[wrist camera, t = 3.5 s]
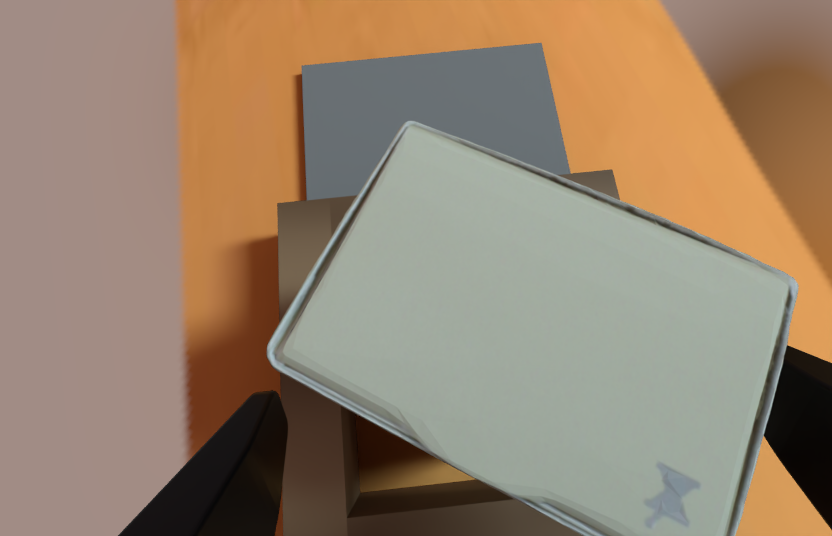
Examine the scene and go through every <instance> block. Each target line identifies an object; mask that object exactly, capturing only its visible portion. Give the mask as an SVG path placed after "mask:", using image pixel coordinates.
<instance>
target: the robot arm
mask: <svg viewBox="0 0 832 536" xmlns="http://www.w3.org/2000/svg"><path fill="white" fill-rule="evenodd" d="M287 437H288V421H287V417H286V414H285V411H284V408H283V406H282V403H281V400H280V397H279V395H278V393H277V392H276V391H273V390H272V391H263V392H256V393H254V394H252V395H251V396H250V397H249V398H248V399H247V400H246V401H245V402H244V403H243V404H242V405H241V407H240V408H239V409H238V410H237V411H236V412H235V413H234V414H233V415H232V416H231V417H230V418H229V419H228V420H227V421H226V422H225V423H224V424H223V426H222V427H221V428H220V429H219V430H218V431H217V432H216V433H215V434H214V435H213V436H212V437H211V438H210V439H209V440H208V441H207V442H206V443H205V445H204V446H203V447H202V448H201V449H200V450H199V451H198V452H197V453H196V454H195V455H194V456H193V457H192V458H191V459H190V460H189V461H188V462H187V464H186V465H185V466H184V467H183V468H182V469H181V470H180V471H179V472H178V473H177V474H176V475H175V476H174V477H173V478H172V479H171V481H169V483H168V484H167V485H166V486H165V487H164V488H163V489H162V490H161V491H160V492H159V493H158V494H157V495H156V496H155V498H153V500H152V501H151V502H150V503H149V504H148V505H147V506H146V507H145V508H144V509H143V510H142V511H141V512H140V513H139V514H138V515H137V516H136V517H135V518H134V519H133V521H132V522H131V523H130V524H129V525H128V526H127V527H126V528H125V529H124V530H123V531H122V532H121V533H120V534H119V535H118V536H274V534H275V530H276V525H277V520H278V514H279V508H280V500H281V491H282V482H283V473H284V464H285V455H286V446H287ZM764 437H765V438H766V440H767V441H768V443H769V445H770V446H771V448H772V449H773V451H774V452H775V454H776V455H777V457H778V458H779V460H780V461H781V463H782V464H783V465H784V467H785V468H786V470H787V471H788V472H789V474H790V475H791V476H792V478H793V479H794V480H795V482H796V483H797V484H798V486H799V487H800V488H801V490H802V491H803V492H804V494H805V495H806V496H807V498H808V499H809V500H810V502H811V503H812V504H813V506H814V507H815V508H816V510H817V511H818V512H819V514H820V515H821V516H822V518H823V519H824V520H825V522H826V523H827V524H828V526H829V527H830V528H831V530H832V363H830V362H828V361H825V360H823V359H820V358H818V357H815V356H813V355H810V354H808V353H805V352H803V351H800V350H798V349H795V348H793V347H790V346H788V345H787V347H786V351H785V354H784V359H783V365H782V368H781V372H780V376H779V380H778V383H777V387H776V391H775V395H774V399H773V403H772V407H771V411H770V415H769V418H768V421H767V424H766V428H765V432H764Z"/></svg>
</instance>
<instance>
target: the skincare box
mask: <svg viewBox="0 0 832 536" xmlns="http://www.w3.org/2000/svg"><path fill="white" fill-rule="evenodd" d="M797 294H798V284H797V282H796V281H795V279H794V278H793V277H791V276H789V275H788V274H786V273H785V272H783V271H780V270H778V269H776V268H773V267H771V266H769V265H766V264H764V263H762V262H760V261H758V260H756V259H755V258H753V257H751V256H749V255H747V254H745V253H742V252H739V251H737V250H735V249H733V248H730V247H728V246H726V245H724V244H722V243H719V242H717V241H715V240H713V239H711V238H709V237H707V236H704V235H701V234H699V233H697V232H695V231H692V230H690V229H688V228H686V227H683V226H681V225H678V224H676V223H673V222H671V221H669V220H668V219H666V218H663V217H660V216H658V215H655V214H652V213H650V212H647V211H645V210H643V209H640V208H638V207H636V206H633V205H631V204H628V203H625V202H623V201H620V200H617V199H615V198H613V197H611V196H608V195H606V194H604V193H601V192H598V191H596V190H593V189H591V188H588V187H586V186H583V185H581V184H578V183H576V182H573V181H571V180H568V179H566V178H563V177H560V176H558V175H555V174H553V173H550V172H548V171H545V170H543V169H540V168H538V167H535V166H533V165H530V164H527V163H524V162H522V161H519V160H517V159H515V158H512V157H510V156H507V155H504V154H502V153H499V152H497V151H494V150H491V149H488V148H485V147H482V146H479V145H477V144H474V143H472V142H470V141H467V140H464V139H461V138H458V137H455V136H453V135H450V134H447V133H444V132H442V131H439V130H436V129H434V128H431V127H429V126H426V125H423V124H421V123H418V122H416V121H407V122H405V123H404V124H403V125H402V126H401V127H400V129H399V130H398V132H397V134H396V135H395V137H394V139H393V141H392V142H391V144H390V146H389V147H388V149H387V151H386V152H385V154H384V155H383V157H382V158H381V160H380V161H379V162H378V164H377V165H376V167H375V168H374V170H373V172H372V173H371V175H370V176H369V178H368V179H367V181H366V183H365V185H364V186H363V188H362V189H361V191H360V193H359V194H358V195H357V197H356V198H355V200H354V201H353V203H352V205H351V206H350V208H349V209H348V210H347V212H346V213H345V215H344V217H343V219H342V221H341V222H340V224H339V225H338V227H337V229H336V230H335V232H334V234H333V236H332V237H331V239H330V241H329V242H328V244H327V245H326V247H325V249H324V250H323V252H322V254H321V255H320V257H319V258H318V260H317V261H316V263H315V264H314V266H313V268H312V269H311V271H310V272H309V274H308V276H307V277H306V279H305V281H304V283H303V284H302V286H301V288H300V289H299V291H298V293H297V295H296V296H295V298H294V300H293V301H292V303H291V305H290V306H289V308H288V310H287V311H286V313H285V315H284V316H283V318H282V320H281V321H280V323H279V325H278V326H277V328H276V330H275V332H274V333H273V335H272V337H271V339H270V341H269V343H268V345H267V358H268V360H269V362H270V364H271V366H272V367H273V368H274V369H276V370H277V371H278V372H280V373H283V374H285V375H286V376H288V377H290V378H292V379H294V380H296V381H297V382H299V383H301V384H303V385H305V386H307V387H308V388H310V389H312V390H314V391H315V392H317V393H319V394H321V395H322V396H324V397H326V398H328V399H330V400H331V401H333V402H335V403H337V404H339V405H341V406H342V407H344V408H346V409H348V410H350V411H352V412H353V413H355V414H357V415H359V416H361V417H363V418H364V419H366V420H368V421H370V422H372V423H373V424H375V425H377V426H379V427H381V428H382V429H384V430H386V431H388V432H390V433H391V434H393V435H395V436H397V437H399V438H401V439H403V440H405V441H407V442H409V443H411V444H412V445H414V446H416V447H418V448H419V449H421V450H423V451H425V452H426V453H428V454H430V455H432V456H434V457H436V458H438V459H439V460H441V461H443V462H445V463H447V464H449V465H451V466H452V467H454V468H456V469H458V470H460V471H462V472H464V473H466V474H467V475H469V476H471V477H473V478H475V479H477V480H479V481H481V482H483V483H485V484H487V485H488V486H490V487H492V488H494V489H496V490H498V491H500V492H502V493H504V494H506V495H507V496H509V497H511V498H513V499H515V500H517V501H519V502H521V503H523V504H525V505H526V506H528V507H530V508H532V509H534V510H536V511H538V512H540V513H542V514H544V515H545V516H547V517H549V518H551V519H553V520H555V521H557V522H559V523H561V524H563V525H564V526H566V527H568V528H570V529H572V530H573V531H575V532H577V533H579V534H581V535H583V536H735V534H736V531H737V529H738V526H739V523H740V520H741V517H742V513H743V508H744V504H745V500H746V496H747V493H748V490H749V487H750V483H751V480H752V477H753V474H754V470H755V466H756V462H757V458H758V454H759V450H760V445H761V442H762V438H763V435H764V432H765V428H766V424H767V421H768V418H769V415H770V411H771V407H772V403H773V399H774V395H775V391H776V387H777V383H778V380H779V376H780V372H781V368H782V365H783V359H784V354H785V351H786V347H787V343H788V336H789V326H790V322H791V319H792V313H793V309H794V306H795V302H796V298H797Z"/></svg>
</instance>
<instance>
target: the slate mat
mask: <svg viewBox="0 0 832 536" xmlns="http://www.w3.org/2000/svg"><path fill="white" fill-rule="evenodd" d="M302 87H303V114H304V140H305V166H306V193H307V200H315V199H325V198H335V197H345V196H355V195H358V194H359V193H360V191H361V189H362V188H363V186H364V185H365V183H366V181H367V179H368V178H369V176H370V175H371V173H372V172H373V170H374V168H375V167H376V165H377V164H378V162H379V161H380V160H381V158H382V157H383V155H384V154H385V152H386V151H387V149H388V147H389V146H390V144H391V142H392V141H393V139H394V137H395V135H396V134H397V132H398V130H399V129H400V127H401V126H402V125H403V124H404V123H405V122H407V121H416V122H418V123H421V124H423V125H426V126H429V127H431V128H434V129H436V130H439V131H442V132H444V133H447V134H450V135H453V136H455V137H458V138H461V139H464V140H467V141H470V142H472V143H474V144H477V145H479V146H482V147H485V148H488V149H491V150H494V151H497V152H499V153H502V154H504V155H507V156H510V157H512V158H515V159H517V160H519V161H522V162H524V163H527V164H530V165H533V166H535V167H538V168H540V169H543V170H545V171H548V172H550V173H553V174H555V175H563V174H571V173H570V169H569V164H568V160H567V155H566V151H565V147H564V142H563V138H562V133H561V129H560V124H559V120H558V115H557V111H556V106H555V102H554V97H553V93H552V88H551V84H550V80H549V75H548V71H547V66H546V62H545V57H544V53H543V48H542V44H541V43H535V44H524V45H514V46H503V47H493V48H482V49H472V50H461V51H451V52H440V53H430V54H419V55H409V56H399V57H388V58H378V59H367V60H357V61H346V62H336V63H325V64H315V65H304V66H302Z"/></svg>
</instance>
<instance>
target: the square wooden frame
mask: <svg viewBox="0 0 832 536" xmlns="http://www.w3.org/2000/svg"><path fill="white" fill-rule="evenodd" d="M558 176H560V177H563V178H566V179H568V180H571V181H573V182H576V183H578V184H581V185H583V186H586V187H588V188H591V189H593V190H596V191H598V192H601V193H604V194H606V195H608V196H611V197H613V198H615V199H617V200H620V198H619V194H618V190H617V186H616V183H615V179H614V175H613V171H612V170H603V171H593V172H583V173H573V174H563V175H558ZM356 197H357V195H355V196H345V197H335V198H325V199H315V200H305V201H295V202H285V203H277V207H278V263H279V320H280V321H281V320H282V318H283V316H284V315H285V313H286V311H287V310H288V308H289V306H290V305H291V303H292V301H293V300H294V298H295V296H296V295H297V293H298V291H299V289H300V288H301V286H302V284H303V283H304V281H305V279H306V277H307V276H308V274H309V272H310V271H311V269H312V268H313V266H314V264H315V263H316V261H317V260H318V258H319V257H320V255H321V254H322V252H323V250H324V249H325V247H326V245H327V244H328V242H329V241H330V239H331V237H332V236H333V234H334V232H335V230H336V229H337V227H338V225H339V224H340V222H341V221H342V219H343V217H344V215H345V213H346V212H347V210H348V209H349V208H350V206H351V205H352V203H353V201H354V200H355V198H356ZM280 377H281V403H282V406H283V408H284V411H285V414H286V417H287V421H288V437H287V446H286V455H285V464H284V473H283V482H282V491H283V536H583V535H581V534H579V533H577V532H575V531H573V530H572V529H570V528H568V527H566V526H564V525H563V524H561V523H559V522H557V521H555V520H553V519H551V518H549V517H547V516H545V515H544V514H542V513H540V512H538V511H536V510H534V509H532V508H530V507H528V506H526V505H525V504H523V503H521V502H519V501H517V500H515V499H513V498H511V497H509V496H507V495H506V494H504V493H502V492H500V491H498V490H496V489H494V488H492V487H490V486H488V485H487V484H485V483H483V482H481V481H479V480H471V481H462V482H453V483H444V484H435V485H426V486H417V487H409V488H400V489H391V490H382V491H373V492H364V493H360V481H359V465H358V449H357V433H356V417H355V413H353V412H352V411H350V410H348V409H346V408H344V407H342V406H341V405H339V404H337V403H335V402H333V401H331V400H330V399H328V398H326V397H324V396H322V395H321V394H319V393H317V392H315V391H314V390H312V389H310V388H308V387H307V386H305V385H303V384H301V383H299V382H297V381H296V380H294V379H292V378H290V377H288V376H286V375H285V374H283V373H280Z"/></svg>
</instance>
